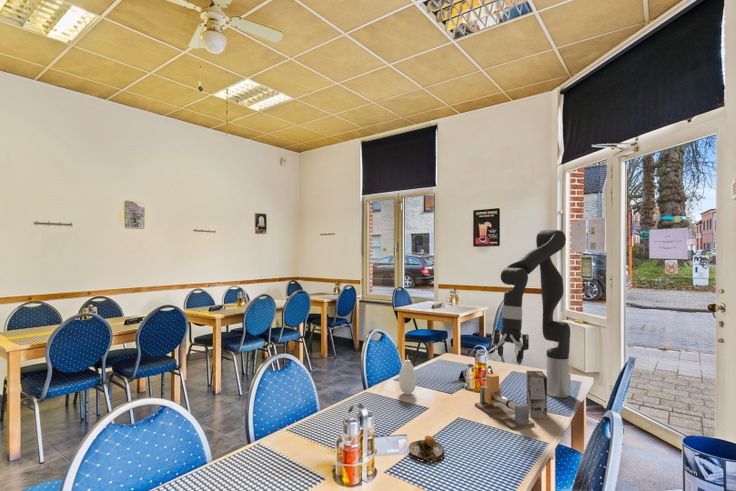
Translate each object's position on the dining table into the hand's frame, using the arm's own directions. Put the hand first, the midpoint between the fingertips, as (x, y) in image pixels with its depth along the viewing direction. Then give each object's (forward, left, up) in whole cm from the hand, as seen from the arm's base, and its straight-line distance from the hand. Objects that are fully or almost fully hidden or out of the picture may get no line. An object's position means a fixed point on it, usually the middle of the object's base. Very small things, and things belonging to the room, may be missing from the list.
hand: (509, 357), depth 164 cm
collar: (+3, -7, -20) cm, 21 cm away
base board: (+3, -1, -23) cm, 23 cm away
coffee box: (-11, +2, -23) cm, 26 cm away
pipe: (+3, -1, -23) cm, 23 cm away
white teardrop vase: (+29, -35, -23) cm, 51 cm away
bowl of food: (+46, +15, -24) cm, 54 cm away
